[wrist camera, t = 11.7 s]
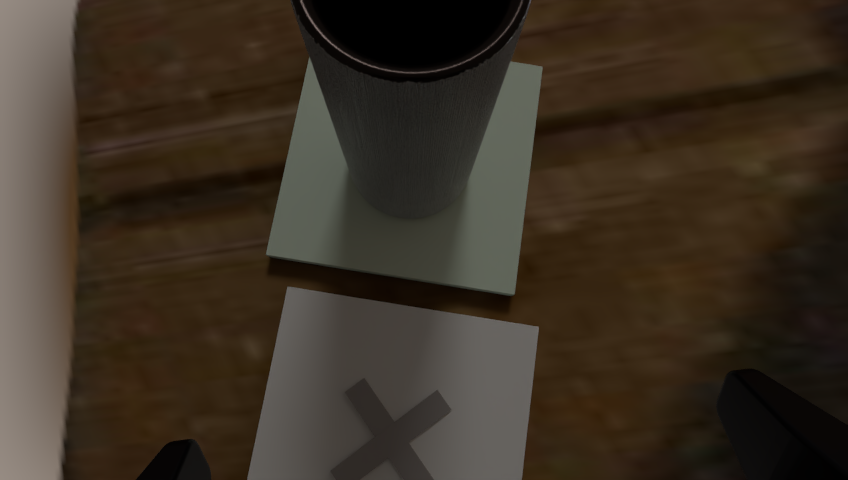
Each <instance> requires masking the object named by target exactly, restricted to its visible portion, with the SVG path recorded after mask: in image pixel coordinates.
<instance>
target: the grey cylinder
mask: <svg viewBox="0 0 848 480" xmlns="http://www.w3.org/2000/svg"><path fill="white" fill-rule="evenodd" d="M530 3H531V0H291V4H292V7H293V10H294V13H295V16H296V19H297V22H298V25H299V28H300V31H301V34H302V37H303V40H304V42H305V45H306V48H307V51H308V54H309V57H310V60H311V63H312V65H313V68H314V71H315V74H316V77H317V80H318V83H319V86H320V88H321V91H322V94H323V97H324V100H325V103H326V106H327V109H328V112H329V114H330V117H331V120H332V123H333V126H334V129H335V132H336V135H337V137H338V140H339V143H340V146H341V149H342V152H343V155H344V158H345V160H346V163H347V166H348V169H349V172H350V175H351V177H352V180H353V182H354V184H355V185H356V187H357V189H358V191H359V192H360V194H361V195H362V196H363V197H364V199H365V200H366V201H367V202H368V203H370V204H371V205H372V206H373V207H375V208H376V209H378V210H379V211H381V212H383V213H385V214H388V215H391V216H394V217H398V218H406V219H415V218H423V217H427V216H430V215H433V214H436V213H438V212H440V211H442V210H443V209H445V208H446V207H448V206H449V205H450V204H451V203H453V202H454V201H455V200H456V198H457V197H458V196H459V195H460V193H461V192H462V190H463V189H464V187H465V185H466V183H467V181H468V179H469V177H470V174H471V172H472V169H473V166H474V163H475V160H476V157H477V155H478V152H479V149H480V146H481V143H482V141H483V138H484V135H485V132H486V129H487V126H488V124H489V121H490V118H491V115H492V112H493V109H494V107H495V104H496V101H497V98H498V95H499V92H500V90H501V87H502V84H503V81H504V78H505V76H506V73H507V70H508V67H509V64H510V61H511V59H512V56H513V53H514V50H515V47H516V44H517V42H518V39H519V36H520V33H521V30H522V27H523V25H524V22H525V19H526V16H527V13H528V9H529V6H530Z"/></svg>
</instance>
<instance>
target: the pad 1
mask: <svg viewBox="0 0 848 480" xmlns="http://www.w3.org/2000/svg"><path fill="white" fill-rule="evenodd" d="M542 68H543V67H541V66H535V65H529V64H522V63H516V62H510V64H509V67H508V70H507V73H506V76H505V78H504V81H503V84H502V87H501V90H500V92H499V95H498V98H497V101H496V104H495V107H494V109H493V112H492V115H491V118H490V121H489V124H488V126H487V129H486V132H485V135H484V138H483V141H482V143H481V146H480V149H479V152H478V155H477V157H476V160H475V163H474V166H473V169H472V172H471V174H470V177H469V179H468V181H467V183H466V185H465V187H464V189H463V190H462V192H461V193H460V195H459V196H458V197H457V198H456V200H455V201H454V202H453V203H451V204H450V205H449V206H448V207H446V208H445V209H443V210H442V211H440V212H438V213H436V214H433V215H430V216H427V217H423V218H415V219H406V218H398V217H394V216H391V215H388V214H385V213H383V212H381V211H379V210H378V209H376V208H375V207H373V206H372V205H371V204H370V203H368V202H367V201H366V200H365V199H364V197H363V196H362V195H361V194H360V192H359V191H358V189H357V187H356V185H355V184H354V182H353V180H352V177H351V175H350V172H349V169H348V166H347V163H346V160H345V158H344V155H343V152H342V149H341V146H340V143H339V140H338V137H337V135H336V132H335V129H334V126H333V123H332V120H331V117H330V114H329V112H328V109H327V106H326V103H325V100H324V97H323V94H322V91H321V88H320V86H319V83H318V80H317V77H316V74H315V71H314V68H313V65H312V63H311V60H310V57H309V61H308V66H307V70H306V75H305V79H304V84H303V88H302V93H301V97H300V102H299V107H298V111H297V116H296V120H295V125H294V129H293V134H292V138H291V143H290V147H289V152H288V156H287V161H286V166H285V170H284V175H283V179H282V184H281V188H280V193H279V197H278V202H277V206H276V211H275V215H274V220H273V225H272V229H271V234H270V238H269V243H268V247H267V252H266V255H267V256H269V257H271V258H277V259H284V260H290V261H296V262H302V263H308V264H315V265H321V266H327V267H333V268H340V269H346V270H352V271H358V272H364V273H371V274H377V275H383V276H389V277H396V278H402V279H408V280H414V281H421V282H427V283H433V284H439V285H445V286H452V287H458V288H464V289H470V290H477V291H483V292H489V293H495V294H501V295H508V296H512V295H514V294H515V286H516V278H517V270H518V262H519V253H520V245H521V237H522V229H523V221H524V213H525V205H526V197H527V189H528V181H529V173H530V165H531V157H532V149H533V141H534V132H535V124H536V116H537V108H538V100H539V92H540V84H541V76H542Z"/></svg>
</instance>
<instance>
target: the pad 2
mask: <svg viewBox="0 0 848 480" xmlns="http://www.w3.org/2000/svg"><path fill="white" fill-rule="evenodd" d="M538 331H539V327H536V326H530V325H523V324H517V323H511V322H505V321H498V320H492V319H486V318H480V317H474V316H467V315H461V314H455V313H449V312H443V311H436V310H430V309H424V308H418V307H411V306H405V305H399V304H393V303H387V302H380V301H374V300H368V299H362V298H355V297H349V296H343V295H337V294H331V293H324V292H318V291H312V290H306V289H299V288H293V287H287V292H286V297H285V302H284V306H283V311H282V316H281V321H280V326H279V330H278V335H277V340H276V345H275V349H274V354H273V359H272V364H271V368H270V373H269V378H268V383H267V388H266V392H265V397H264V402H263V407H262V411H261V416H260V421H259V426H258V430H257V435H256V440H255V445H254V450H253V454H252V459H251V464H250V469H249V473H248V478H247V480H522V472H523V463H524V454H525V445H526V436H527V428H528V419H529V410H530V401H531V392H532V384H533V375H534V366H535V357H536V348H537V339H538Z"/></svg>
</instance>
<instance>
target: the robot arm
mask: <svg viewBox="0 0 848 480" xmlns="http://www.w3.org/2000/svg"><path fill="white" fill-rule="evenodd" d="M716 407H717V412H718V416H719V418H720V420H721V423H722V425H723V427H724V429H725V432H726V434H727V436H728V438H729V441H730V443H731V445H732V447H733V450H734V452H735V454H736V456H737V459H738V461H739V463H740V465H741V467H742V470H743V472H744V474H745V476H746V479H747V480H848V425H846V424H845V423H843V422H841V421H840V420H838V419H836V418H835V417H833V416H832V415H830V414H828V413H827V412H825V411H823V410H822V409H820V408H819V407H817V406H815V405H814V404H812V403H810V402H809V401H807V400H805V399H804V398H802V397H801V396H799V395H797V394H796V393H794V392H792V391H791V390H789V389H788V388H786V387H784V386H783V385H781V384H779V383H778V382H776V381H775V380H773V379H771V378H770V377H768V376H766V375H765V374H763V373H761V372H760V371H758V370H755V369H741V370H733V371H730V372H729V373H728V374H727V375H726V377H725V380H724V383H723V385H722V388H721V391H720V393H719V396H718V399H717V406H716ZM136 480H211V472H210V468H209V465H208V463H207V461H206V459H205V457H204V455H203V453H202V451H201V449H200V447H199V445H198V443H197V442H196V441H195V440H193V439H186V440H178V441H172V442H169V443H168V444H166V445H165V446H164V447H163V448H162V449H161V451H160V452H159V453H158V454H157V455H156V456H155V458H154V459H153V460H152V461H151V462H150V464H149V465H148V466H147V467H146V468H145V470H144V471H143V472H142V473H141V474H140V475H139V477H138V478H137V479H136Z"/></svg>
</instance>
